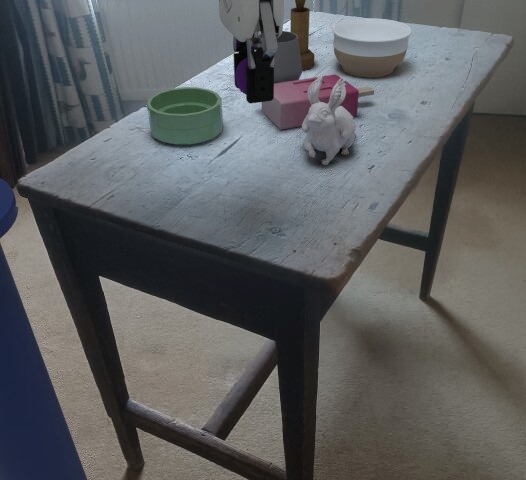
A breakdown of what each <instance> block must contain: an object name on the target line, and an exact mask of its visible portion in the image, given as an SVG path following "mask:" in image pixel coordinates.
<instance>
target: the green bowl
mask: <svg viewBox="0 0 526 480" xmlns="http://www.w3.org/2000/svg"><path fill="white" fill-rule="evenodd" d="M146 109H147V115H148V121H149V123H148V124H149V129H150V133H151V135H152V137H153V138H154V139H157V140H158V141H160V142H163V143H167V144H172V145H183V146H185V145H195V144H200V143H203V142H206V141H209V140H212V139H215V138H216V137H217V136H218V135H220V134H221V133H222V132H223V128H224V120H223V119H224V118H223V115H224V114H223V102H222V97H221V96H220V94H219V93H218V92H215V91H213V90H211V89H209V88H202V87H193V86H192V87H190V86H185V87H184V86H183V87H176V88H175V87H174V88H169V89H166V90H162V91H159V92H156V93H155V94H153V95H152V96H150V97H149V99H148V100H147V101H146Z"/></svg>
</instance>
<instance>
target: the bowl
mask: <svg viewBox="0 0 526 480" xmlns="http://www.w3.org/2000/svg"><path fill="white" fill-rule="evenodd" d="M331 29H332V33H333V43H332V46H333V54H334V55H335V58H336V60H337V62H338V63H339V64H340V65H341V67H342V70H343V71H344V72H345V73H346V74H348V75H351V76H354V77H360V78H380V77H381V78H382V77H385V76H389V75H391V74H392V73H393V72H394V70H395V68H396V67H398V65H400V64H401V63H402V61H403V60H404V59H405V57H406V55H407V51H408V48H409V40H410V36H411V35H412V33H413V30H412V27H410V26H409V25H407V24H405V23H403V22H401V21H397V20H393V19H386V18H377V17H375V18H374V17H372V18H371V17H366V18H365V17H364V18H362V17H361V18H353V19H346V20H343V21H340V22H338V23H335V24H334V25H333V27H332V28H331Z"/></svg>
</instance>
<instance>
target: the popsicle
mask: <svg viewBox="0 0 526 480" xmlns="http://www.w3.org/2000/svg"><path fill="white" fill-rule="evenodd" d="M318 77H319V76H315V77H309V78H302V79H299V80H295V81H289V82H283V83H276V84H274V99H273V100H272V101H266V102H261V111H262V113H263V114H264V115H265V116H266V117H267V118H268V119H269V120H270V121H271V122H272V124H274V125H275V126H276V127H277V128H278V129H279V130H281V131H282V130H288V129H294V128H297V127H298V128H300V127H302V124H303V122H304V119H305V118H306V116H307V115H308V111H309V108H310V107H311V104H310V102H309V99H308V88H309V86H310V85H311V84H312V82H314V81H315V80H317V79H318ZM340 78H342V77H341V76H339V75H338V74H336V73H333V74H328V75H323V78H322V85H321V87H320V91H319V96H318V99H319V101H320V102H324V103H326V104H328V103H329V99H330V95H331V91H332V89H333V87H334V86H335V85H336V83H337V81H339V79H340ZM342 80H344V79H343V78H342ZM342 80H341V81H342ZM344 83H345V84H346V85H345V89H346V96H345V99H344V101H343V102H342V103H341V104H340V105H339V106H343V107H344V108H345V109H346V110H347V111H348V112H349V113H350V114H351V116H353V118H355V117H357V116H358V106H359V98H363V97H368V96H369V97H370V96H373V95H375V88H373V87H371V86H362V87H356V86H354V85H352V84H351V83H349V82H348V81H346V80H345V82H344ZM339 106H338V107H339Z"/></svg>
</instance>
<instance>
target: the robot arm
mask: <svg viewBox="0 0 526 480" xmlns="http://www.w3.org/2000/svg"><path fill="white" fill-rule="evenodd" d="M284 11H285V0H218V13H219V14H218V17H219V20H220V22H221V24H222V26H224V28H226V30H227V31H228V32H230V34H231V35H232V37H233V38H232V48H233V52H234V53H233V75H234V76H233V77H234V78H233V79H234V86H235V87H236V88H237V89H239V88H238V86H237V84H236V80H235V72H236V69H237V66H238V65H239V63H240V62H241V61H242V60H244V59H245V58H248V65H249V67H245V70H246V94H245V100H246V102H247V104H258V103H262V102H266V101H272V100H273V99H274V65H275V60H274V55H275V53H276V51H277V49H278V44H277V38H278V37H279V36H280V35H281V34H282V31H284V16H285V15H284V13H285V12H284ZM259 32H260V33H259ZM259 34H261V36H262V37H258V35H259ZM260 43H262V44H261V47H258V44H260Z"/></svg>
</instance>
